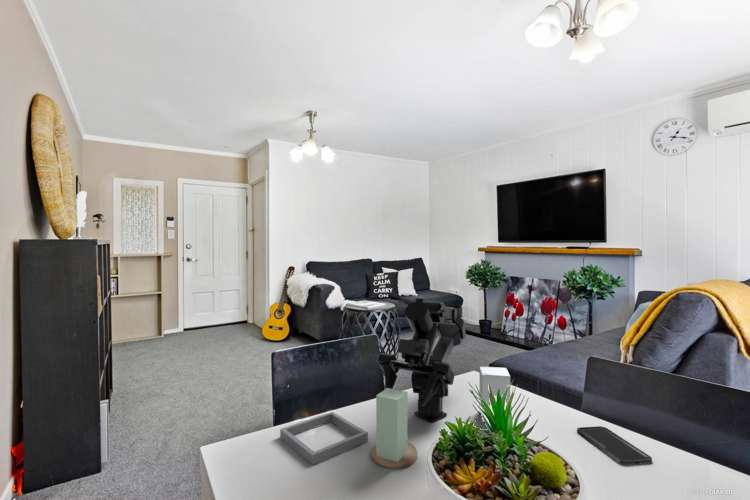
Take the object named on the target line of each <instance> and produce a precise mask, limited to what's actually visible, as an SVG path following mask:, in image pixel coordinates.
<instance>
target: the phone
mask: <svg viewBox="0 0 750 500" xmlns="http://www.w3.org/2000/svg"><path fill="white" fill-rule="evenodd" d="M576 433H577V435H579V436H581V437H582V438H584V439H585V440H587V442H589V443H590V444H592V445H593V446H594V447H596V448H597V449H599V450H600V451H601V452H603V454H605V455H607V456H608V457H609V458H611V459H612V460H613V461H615V462H616V463H618V464H619V465H622V466H634V465H633V464H635V465H645V464H646V465H647V464H652V463H653V457H652V456H650V455H649V454H647V453H645V452H644V451H642V449H640V448H638V447H636V446H635V445H633V444H632V443H630V442H629V441H627V440H626V439H624V438H623V437H621V436H620V435H618V434H617V433H615V432H613V431H612V430H610V429H609V428H607V427H605V426H600V425H599V426H598V425H597V426H586V427H583V426H582V427H577V428H576Z"/></svg>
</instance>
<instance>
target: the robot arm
mask: <svg viewBox="0 0 750 500" xmlns="http://www.w3.org/2000/svg"><path fill="white" fill-rule="evenodd" d="M404 315H405V318H406V319H407V322H408V324H409V326H410V329H411V331H413V334H412V338H409V339H405V338H399V339H398V344H397V350H396V353H400V355H401V356H400V357H401V359H403V360H398V359H397V358H396V356H395V355H394V354H393V353H386V352H381V353H379V354H378V356H377V358H376V361H375V362H376V363H377V365H378V367H379V368H380V370H381V371H382V372H383V373H384V390H385V389H386V388H390V389H394V386H395V384H396V382H397V379H398V375H397V373H398V372H399V370H404V371H408V372H412V373H411V376H410V377H411V378H410V380H411V386H412V387H411V389H412V393H413V394H417V395H418V396H417V397H418V399H417V411H414V412H413V415H414V416H416V417H419V418H421V419H423V420H426V421H427V422H429V423H434V422H436V421H438V420H441V419H442V418H444V417H445V418H446V417H447V415H448V413H446V412H445V411H443V398H445V397H448V396H449V385H450V386H452V385H453V384H454V382H455V381H454V380H455V374H454V372H453V369H452V367H451V365H450V363H448V360H449V357H450V355H451V353H452V351H453V350H454V347H458V346H459V345H461V344H462V343H463V341H464V340H465V339H466V335H467V334H466V325H465V324H466V323H465V320H464V319H463V318H462V317H461V316H460V315H459V314H458V309H457V308H456V307H453V306H446V304H445V303H444V302H442V301H431V300H430V301H429V300H425V299H424V298H415V301H413V302H411V303H409V304H408V305H407V306H406V307H405V309H404ZM446 320H447V321H448V320H449V321H453V322H452V323H450V322H445V321H446ZM437 338H438V341H437V343H436V344H435V342H436V339H437Z"/></svg>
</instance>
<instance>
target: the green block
mask: <svg viewBox="0 0 750 500" xmlns="http://www.w3.org/2000/svg"><path fill="white" fill-rule="evenodd" d="M375 397H376V400H375V401H376V402H375V403H376V408H375V409H376V411H375V412H376V415H375V416H376V423H375V424H376V426H375V427H376V431H375V432H376V443H375V444H376V456H378V457H382V458H385V459H388V460H391V461H395V462H398V461H399V460H400V459H401V458H402V457H403V456H404V454H405V453H406V452H407V442H408V391H405V390H400V389H399V390H398V389H395V388H393V389H390V388H386V389H385V388H384V390H381V392H379V393H378V394H376V396H375Z"/></svg>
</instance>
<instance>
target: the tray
mask: <svg viewBox="0 0 750 500" xmlns="http://www.w3.org/2000/svg"><path fill="white" fill-rule="evenodd" d="M330 421H332V422H330ZM327 422H328V423H333V424H334V425H336V424H337V426H338V427H339V426H340V427H339V428H341V429H342V428H343V430H344V431H345V432H347V433H349V434H351V435H352V436H349V437H346V438H345V439H342V440H340V441H338V442H334V443H332V444H330V445H327V446H325V447H323V448H320V449H317V450H313V449H311V448H310V447H309V446H307V445H306V444H305V443H304V442H303V441H301V439H299V438H298V437H296V436H295V435H297V433H298V434H300V433H303V432H305V430H306V431H309V430H311V429H310V428H312V429H314V428H316V427H315V426H317V427H319V426H318V425H320V426H322V425H321V424H323V425H325V424H324V423H326V424H327ZM313 427H314V428H313ZM308 429H309V430H308ZM302 431H303V432H302ZM299 432H300V433H299ZM279 434H280V435H279V437H280V439H282V440H283V441H284V442H285V443H286V444H287V445H289V446H290V447H291V448H292V449H293V450H294V451H295V452H297V453H298V455H301V456H302V457H303V458H304V459H305V460H306V461H308V462H309V464H311V465H316V464H317V463H320V462H322V461H325V460H327V459H330V458H332V457H334V456H337V455H339V454H342V453H344V452H346V451H348V450H351V449H352V448H355V447H358V446H360V445H362V444H364V443H366V442H368V441H369V432H367V431H366V430H364V429H362V428H361V427H359V426H358V425H356V424H354V423H353V422H351V421H349V420H348V419H346V418H345V417H342V416H341V415H338V414H337V413H335V412H334V411H330V412H327V413H324V414H321V415H317V416H315V417H311V418H310V419H309V418H308V419H306V420H303V421H300V422H297V423H294V424H291V425H289V426H286V427H283V428H279ZM294 434H295V435H294Z"/></svg>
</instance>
